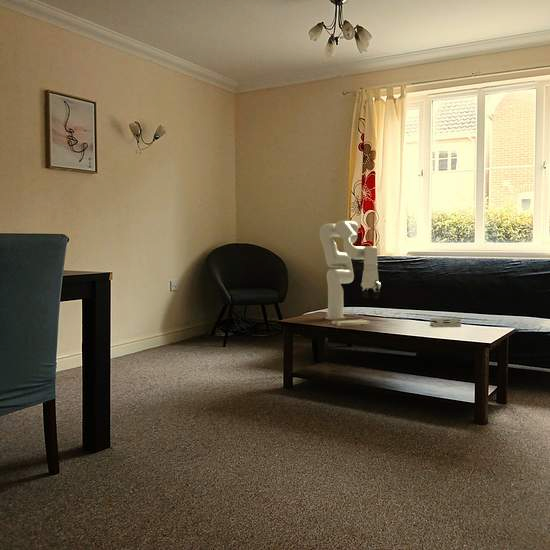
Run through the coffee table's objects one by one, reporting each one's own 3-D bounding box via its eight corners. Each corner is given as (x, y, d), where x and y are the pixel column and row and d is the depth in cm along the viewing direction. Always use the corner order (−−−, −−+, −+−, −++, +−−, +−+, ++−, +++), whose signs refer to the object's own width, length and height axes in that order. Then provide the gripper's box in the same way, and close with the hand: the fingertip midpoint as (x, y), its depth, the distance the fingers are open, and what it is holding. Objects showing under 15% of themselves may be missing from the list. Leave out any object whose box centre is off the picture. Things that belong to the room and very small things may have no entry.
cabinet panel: (332, 324, 326) (332, 318, 325) (360, 322, 335) (360, 316, 335) (342, 326, 317) (342, 320, 317) (370, 324, 326) (370, 318, 326)
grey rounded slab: (462, 326, 317) (455, 326, 327) (462, 318, 317) (454, 318, 327) (433, 327, 315) (427, 326, 325) (433, 318, 316) (427, 318, 325)
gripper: (356, 268, 323) (356, 297, 323) (374, 268, 308) (374, 299, 308) (366, 268, 326) (366, 297, 327) (385, 268, 311) (385, 298, 311)
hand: (370, 298), depth 317 cm, fingers open, 9 cm apart
